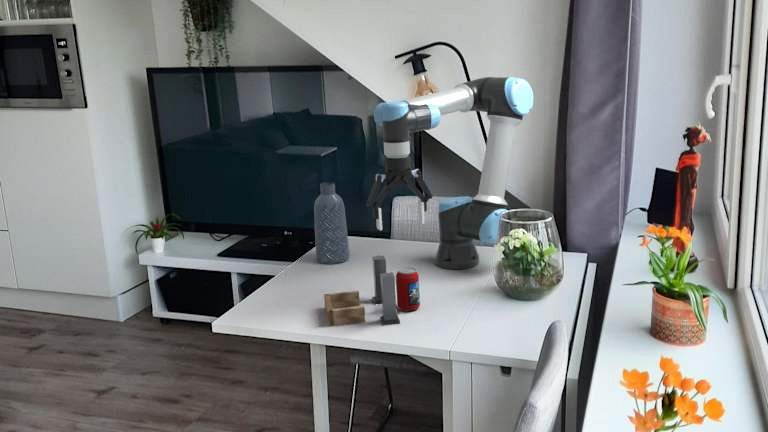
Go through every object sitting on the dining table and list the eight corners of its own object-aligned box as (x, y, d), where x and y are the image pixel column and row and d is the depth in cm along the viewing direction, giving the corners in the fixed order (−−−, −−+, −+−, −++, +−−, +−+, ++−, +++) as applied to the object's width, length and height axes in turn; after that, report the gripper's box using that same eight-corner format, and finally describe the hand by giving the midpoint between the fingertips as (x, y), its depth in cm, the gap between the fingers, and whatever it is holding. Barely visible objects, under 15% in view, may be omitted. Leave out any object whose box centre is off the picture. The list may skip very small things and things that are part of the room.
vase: (355, 259, 275) (350, 183, 268) (325, 267, 269) (319, 189, 262) (340, 252, 285) (334, 178, 278) (310, 258, 280) (304, 183, 272)
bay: (359, 304, 232) (358, 290, 231) (365, 322, 218) (364, 307, 217) (325, 308, 231) (323, 294, 230) (328, 326, 217) (327, 311, 216)
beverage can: (418, 312, 223) (416, 273, 220) (395, 312, 224) (393, 273, 221) (421, 304, 230) (420, 266, 226) (399, 303, 231) (397, 266, 228)
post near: (397, 317, 221) (394, 271, 217) (400, 323, 216) (397, 276, 213) (380, 318, 220) (377, 272, 217) (382, 325, 215) (379, 278, 212)
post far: (388, 297, 237) (385, 254, 233) (390, 303, 232) (388, 259, 228) (372, 299, 236) (369, 256, 233) (374, 304, 231) (371, 260, 228)
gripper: (430, 149, 229) (433, 217, 234) (352, 158, 221) (357, 229, 226) (441, 152, 222) (444, 222, 227) (361, 162, 214) (365, 235, 219)
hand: (400, 226), depth 227 cm, fingers open, 13 cm apart
